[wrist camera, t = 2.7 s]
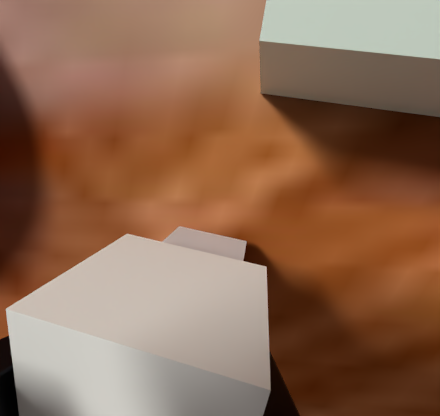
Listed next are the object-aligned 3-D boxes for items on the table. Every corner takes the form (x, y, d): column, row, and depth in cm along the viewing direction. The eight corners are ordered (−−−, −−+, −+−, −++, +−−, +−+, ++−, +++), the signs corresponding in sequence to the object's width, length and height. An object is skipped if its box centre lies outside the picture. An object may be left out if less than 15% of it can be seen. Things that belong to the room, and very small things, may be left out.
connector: (265, 230, 11) (270, 390, 4) (242, 331, 12) (213, 578, 5) (166, 209, 11) (5, 309, 4) (156, 307, 13) (29, 498, 6)
